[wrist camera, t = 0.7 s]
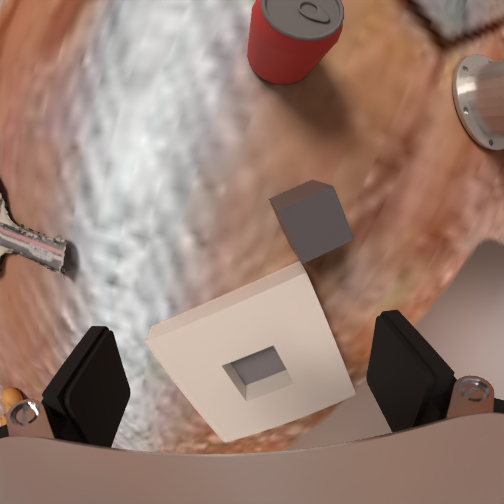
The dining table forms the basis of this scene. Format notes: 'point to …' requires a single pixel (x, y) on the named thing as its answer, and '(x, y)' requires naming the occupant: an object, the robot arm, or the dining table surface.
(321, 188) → the plug
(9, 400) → the figurine
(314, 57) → the beer can
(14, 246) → the table tennis paddle
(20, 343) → the dining table surface
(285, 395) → the socket
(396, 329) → the robot arm
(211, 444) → the dining table surface
